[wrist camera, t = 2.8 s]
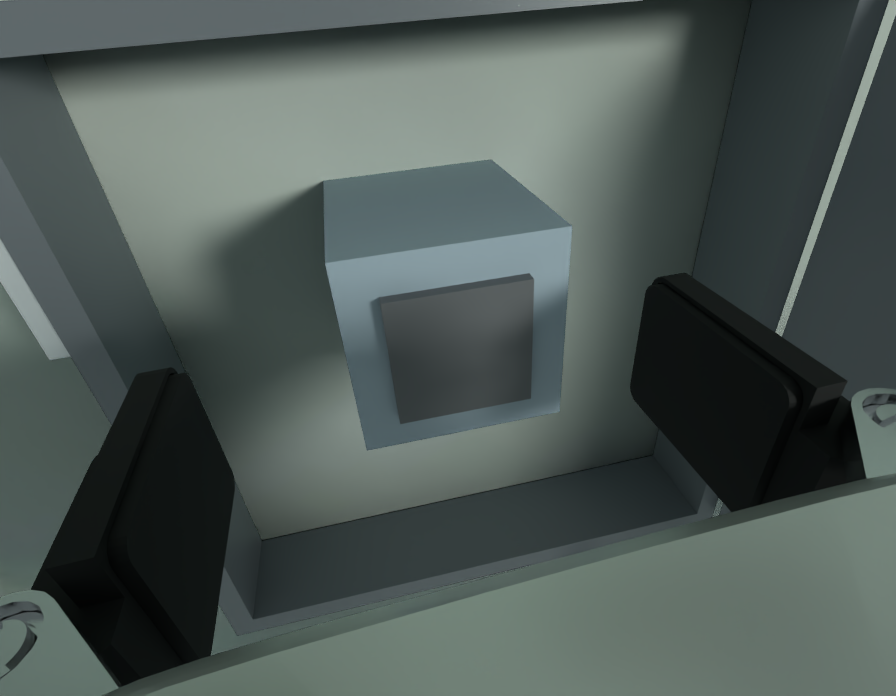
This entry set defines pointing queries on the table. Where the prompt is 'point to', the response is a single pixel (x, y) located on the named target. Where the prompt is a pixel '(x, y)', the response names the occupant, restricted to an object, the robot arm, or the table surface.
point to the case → (462, 519)
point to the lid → (856, 254)
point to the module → (447, 298)
